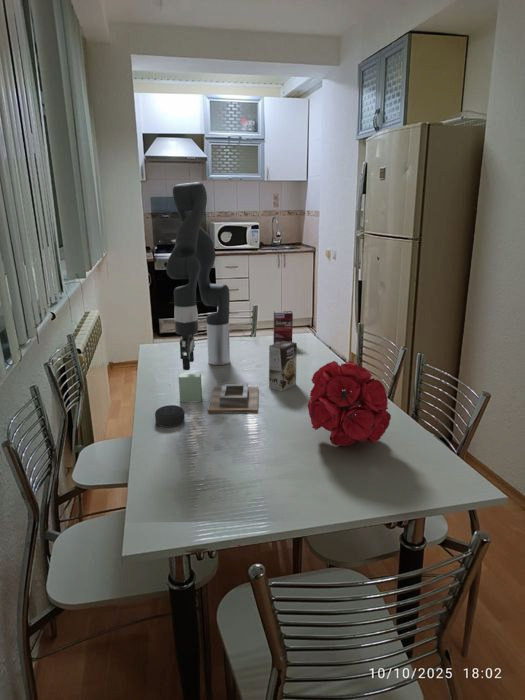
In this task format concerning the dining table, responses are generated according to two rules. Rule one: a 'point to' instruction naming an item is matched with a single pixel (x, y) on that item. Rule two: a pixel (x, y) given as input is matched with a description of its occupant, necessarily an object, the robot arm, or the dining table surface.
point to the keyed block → (190, 387)
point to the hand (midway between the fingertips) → (188, 365)
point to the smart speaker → (169, 416)
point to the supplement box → (283, 326)
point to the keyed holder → (234, 399)
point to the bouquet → (348, 404)
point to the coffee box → (282, 365)
